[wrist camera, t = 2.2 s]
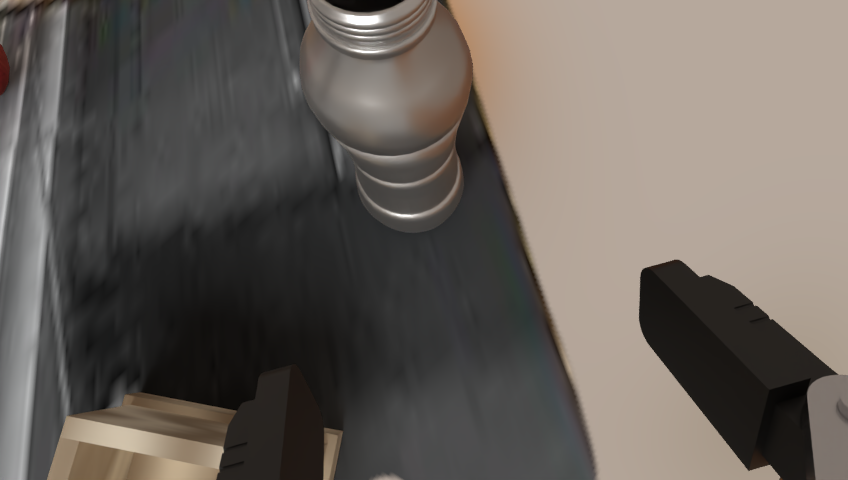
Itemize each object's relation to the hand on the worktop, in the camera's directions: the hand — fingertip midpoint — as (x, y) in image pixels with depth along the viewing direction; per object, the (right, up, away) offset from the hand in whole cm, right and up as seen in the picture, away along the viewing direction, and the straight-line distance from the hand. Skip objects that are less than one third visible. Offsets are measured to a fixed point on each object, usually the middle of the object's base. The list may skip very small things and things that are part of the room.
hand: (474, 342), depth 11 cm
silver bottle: (-2, +5, +22) cm, 22 cm away
